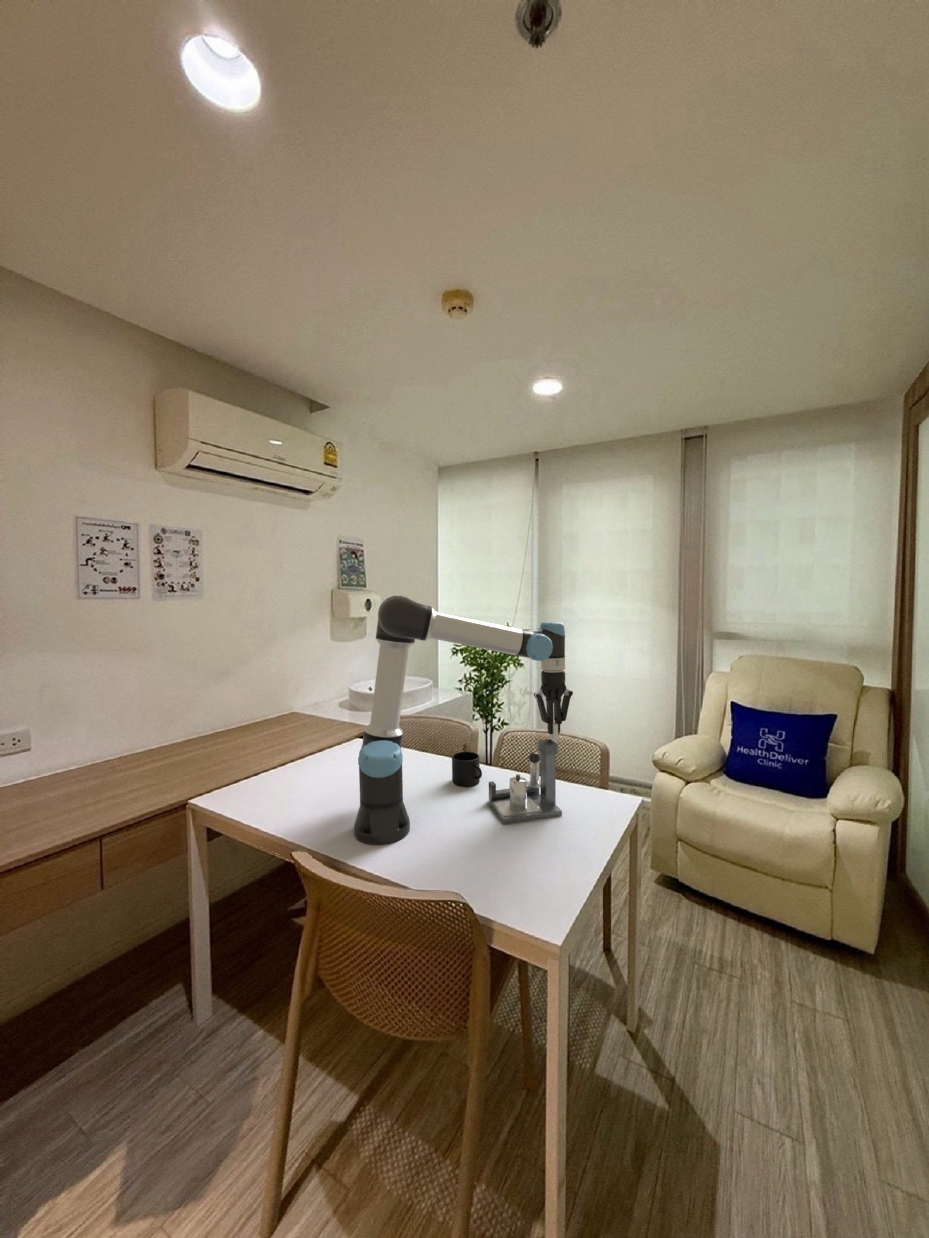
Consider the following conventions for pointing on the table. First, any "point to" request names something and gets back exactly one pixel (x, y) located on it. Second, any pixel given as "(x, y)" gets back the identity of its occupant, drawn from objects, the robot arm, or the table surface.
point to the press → (531, 792)
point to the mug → (466, 769)
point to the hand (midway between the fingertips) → (554, 743)
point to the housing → (518, 793)
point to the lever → (534, 770)
